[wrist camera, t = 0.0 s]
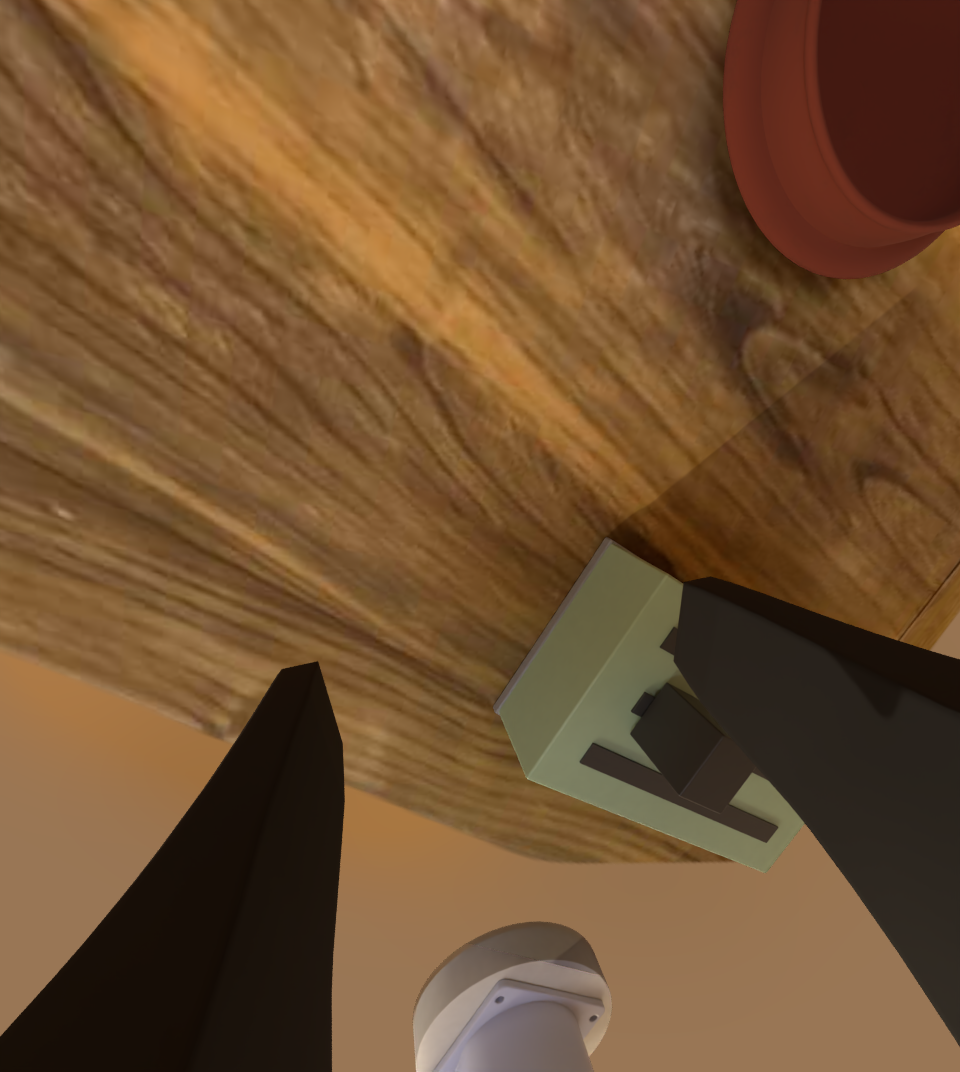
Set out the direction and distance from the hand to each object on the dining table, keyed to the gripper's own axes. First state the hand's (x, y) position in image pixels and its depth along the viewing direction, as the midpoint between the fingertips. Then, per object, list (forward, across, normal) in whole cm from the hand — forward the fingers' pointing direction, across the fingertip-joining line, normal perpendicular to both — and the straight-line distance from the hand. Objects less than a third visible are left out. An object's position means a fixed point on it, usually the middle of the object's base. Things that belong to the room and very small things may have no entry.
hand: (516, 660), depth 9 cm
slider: (+4, -7, +8) cm, 11 cm away
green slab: (+8, -10, +11) cm, 17 cm away
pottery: (+13, -20, -14) cm, 27 cm away
